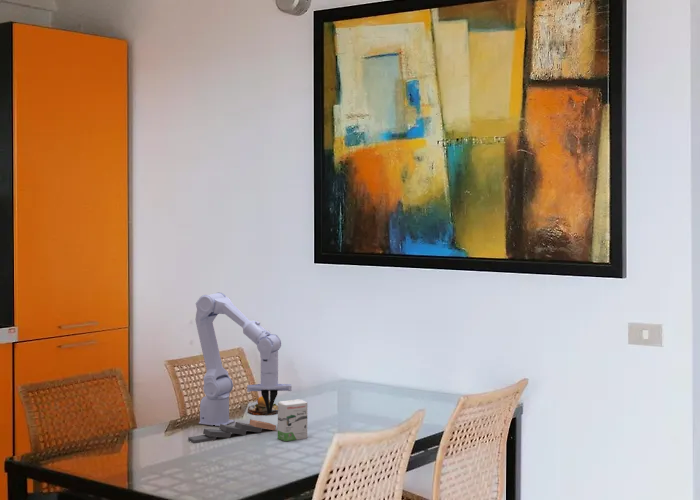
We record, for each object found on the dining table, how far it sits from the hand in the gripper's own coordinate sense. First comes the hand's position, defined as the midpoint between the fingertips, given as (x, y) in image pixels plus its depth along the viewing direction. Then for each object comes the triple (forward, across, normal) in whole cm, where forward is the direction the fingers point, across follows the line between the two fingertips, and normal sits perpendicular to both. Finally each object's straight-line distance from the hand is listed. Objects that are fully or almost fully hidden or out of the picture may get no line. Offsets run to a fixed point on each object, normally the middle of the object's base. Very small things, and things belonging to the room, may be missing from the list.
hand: (269, 412), depth 310 cm
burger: (+6, +2, -26) cm, 27 cm away
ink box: (+6, -7, +12) cm, 15 cm away
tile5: (+5, +18, +10) cm, 21 cm away
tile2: (+5, +4, +2) cm, 7 cm away
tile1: (+5, -1, -1) cm, 5 cm away
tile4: (+5, +14, +8) cm, 16 cm away
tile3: (+5, +9, +5) cm, 11 cm away
